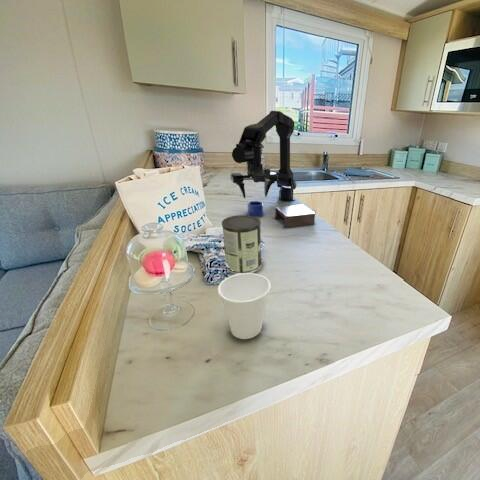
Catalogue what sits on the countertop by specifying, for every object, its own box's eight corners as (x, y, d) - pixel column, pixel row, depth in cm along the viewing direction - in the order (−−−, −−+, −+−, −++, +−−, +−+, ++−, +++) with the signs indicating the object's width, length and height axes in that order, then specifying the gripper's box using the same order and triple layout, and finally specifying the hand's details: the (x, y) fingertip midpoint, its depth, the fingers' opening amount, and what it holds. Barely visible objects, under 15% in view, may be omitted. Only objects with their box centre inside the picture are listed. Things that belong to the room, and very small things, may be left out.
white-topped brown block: (302, 215, 125) (302, 204, 123) (314, 224, 115) (315, 213, 113) (275, 218, 119) (275, 207, 117) (285, 228, 109) (285, 216, 107)
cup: (227, 313, 62) (224, 272, 57) (272, 314, 63) (272, 272, 58) (216, 348, 53) (211, 301, 48) (268, 347, 54) (268, 302, 49)
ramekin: (260, 211, 125) (260, 200, 123) (264, 215, 120) (264, 205, 118) (246, 212, 122) (245, 201, 120) (250, 217, 117) (249, 206, 115)
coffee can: (241, 254, 87) (239, 212, 81) (268, 263, 83) (268, 219, 77) (217, 268, 78) (213, 222, 72) (246, 279, 75) (244, 231, 69)
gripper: (235, 164, 101) (237, 204, 107) (283, 163, 109) (282, 201, 116) (229, 158, 110) (231, 196, 116) (273, 158, 118) (273, 194, 125)
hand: (255, 197), depth 118 cm, fingers open, 9 cm apart
